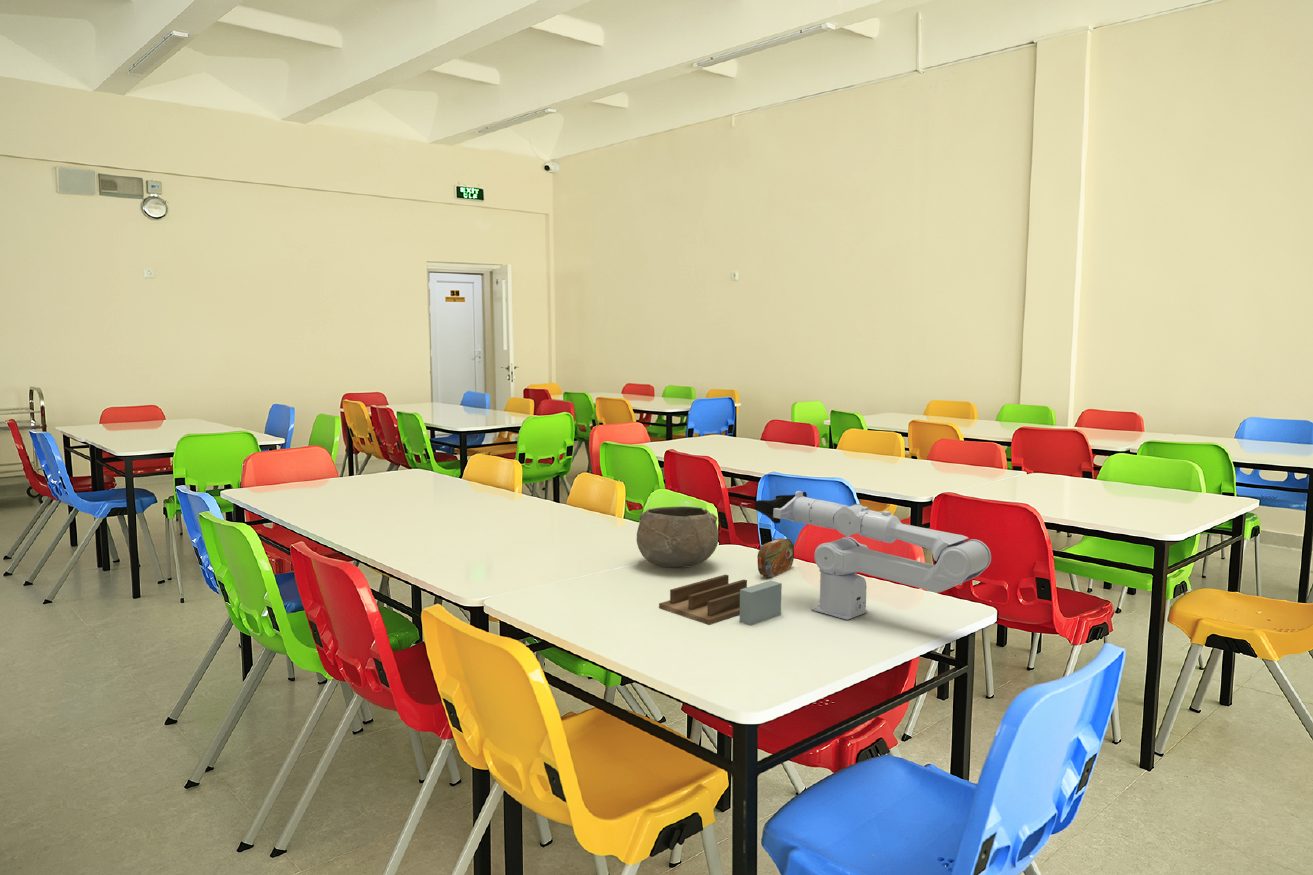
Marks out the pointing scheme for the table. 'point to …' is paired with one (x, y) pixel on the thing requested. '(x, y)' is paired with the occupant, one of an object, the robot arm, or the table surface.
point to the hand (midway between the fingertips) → (766, 502)
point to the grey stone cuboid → (760, 602)
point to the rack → (706, 599)
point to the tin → (775, 557)
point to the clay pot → (677, 536)
